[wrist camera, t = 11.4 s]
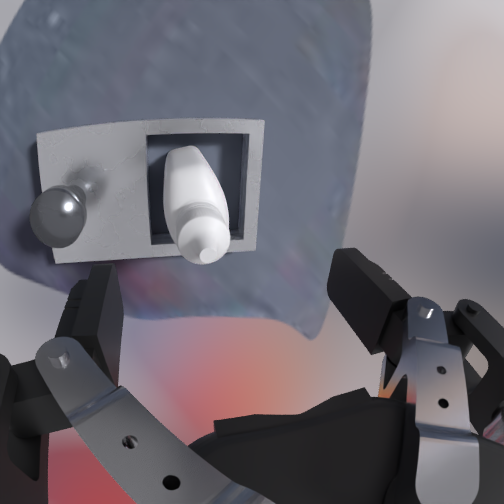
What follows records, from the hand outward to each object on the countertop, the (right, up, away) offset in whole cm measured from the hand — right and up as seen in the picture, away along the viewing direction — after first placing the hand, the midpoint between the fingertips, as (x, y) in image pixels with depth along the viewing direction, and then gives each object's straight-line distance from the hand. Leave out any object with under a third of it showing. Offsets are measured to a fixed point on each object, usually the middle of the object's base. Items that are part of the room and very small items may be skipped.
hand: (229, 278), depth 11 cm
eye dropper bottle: (-4, +6, +12) cm, 14 cm away
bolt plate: (-7, +6, +11) cm, 14 cm away
